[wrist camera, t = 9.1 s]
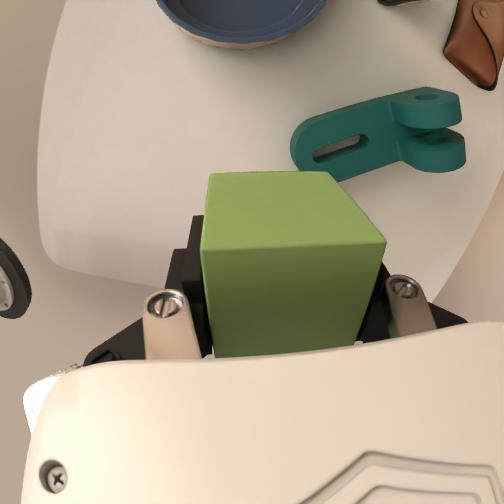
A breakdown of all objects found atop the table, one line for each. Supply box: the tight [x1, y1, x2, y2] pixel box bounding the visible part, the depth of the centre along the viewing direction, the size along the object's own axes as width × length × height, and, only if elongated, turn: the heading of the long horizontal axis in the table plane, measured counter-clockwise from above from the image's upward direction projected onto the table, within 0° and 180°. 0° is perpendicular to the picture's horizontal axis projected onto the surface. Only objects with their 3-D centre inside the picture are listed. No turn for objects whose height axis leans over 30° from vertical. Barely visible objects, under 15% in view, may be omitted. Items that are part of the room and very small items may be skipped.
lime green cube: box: [200, 171, 387, 358], centre depth 10 cm, size 4×6×5 cm
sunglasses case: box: [444, 0, 504, 91], centre depth 17 cm, size 18×7×7 cm
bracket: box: [290, 87, 466, 183], centre depth 25 cm, size 18×7×8 cm, turn 112°
